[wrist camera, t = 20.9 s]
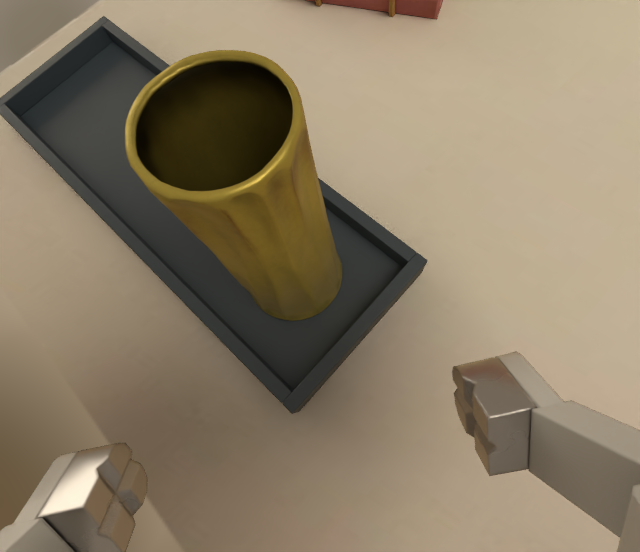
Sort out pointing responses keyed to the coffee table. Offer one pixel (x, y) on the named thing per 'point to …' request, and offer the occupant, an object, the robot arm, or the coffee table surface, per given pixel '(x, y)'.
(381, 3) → the book
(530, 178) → the coffee table surface
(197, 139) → the vase
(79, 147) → the tray
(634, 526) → the robot arm
